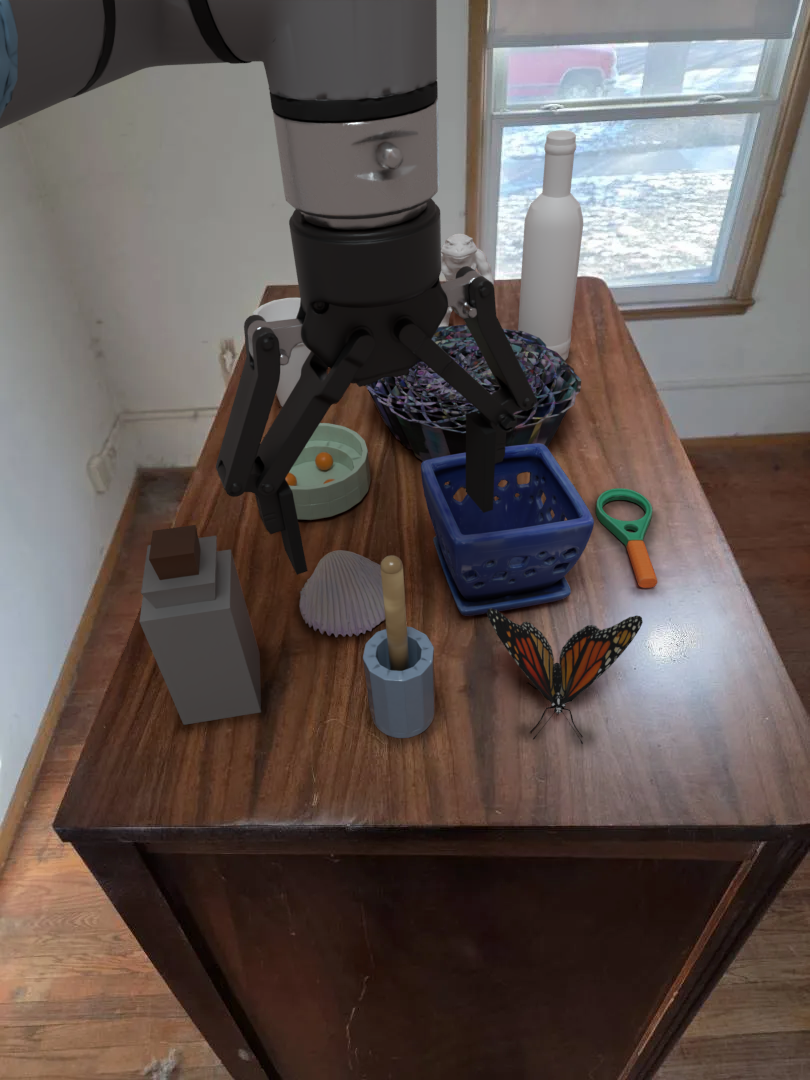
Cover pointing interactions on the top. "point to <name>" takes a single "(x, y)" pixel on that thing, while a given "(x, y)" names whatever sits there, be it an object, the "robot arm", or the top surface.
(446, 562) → the flower pot
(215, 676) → the perfume bottle
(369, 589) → the seashell
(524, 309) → the bottle
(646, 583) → the magnifying glass
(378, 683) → the holder
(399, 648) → the stick
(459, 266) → the figurine
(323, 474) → the bowl
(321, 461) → the bead
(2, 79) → the robot arm
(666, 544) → the top surface
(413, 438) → the decorative bowl
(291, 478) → the bead
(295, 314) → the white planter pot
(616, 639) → the butterfly
